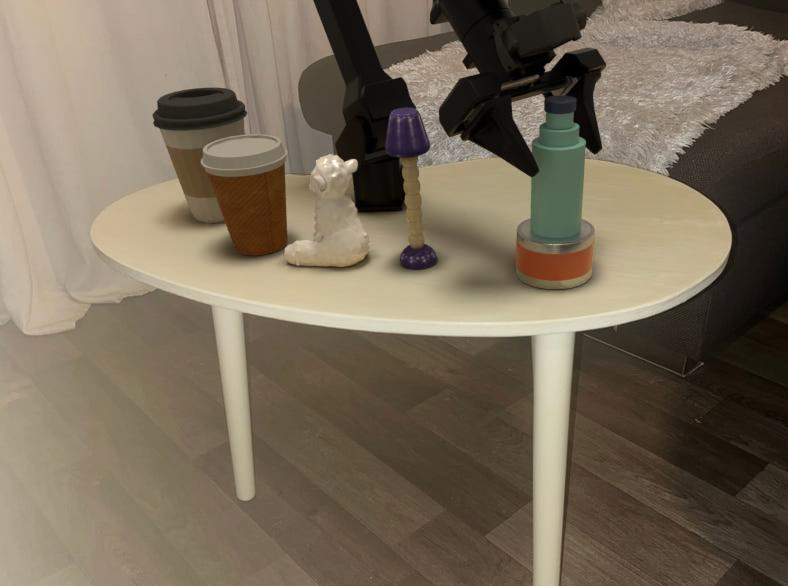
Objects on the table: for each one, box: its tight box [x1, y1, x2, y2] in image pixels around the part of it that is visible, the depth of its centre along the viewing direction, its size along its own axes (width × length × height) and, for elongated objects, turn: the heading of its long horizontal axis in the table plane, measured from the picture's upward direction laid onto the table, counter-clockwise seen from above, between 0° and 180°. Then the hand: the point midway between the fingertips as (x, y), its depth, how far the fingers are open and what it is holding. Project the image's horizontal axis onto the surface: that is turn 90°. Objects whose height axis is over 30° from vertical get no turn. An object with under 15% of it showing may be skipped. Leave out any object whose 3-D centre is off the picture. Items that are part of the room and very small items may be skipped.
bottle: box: [530, 96, 587, 238], centre depth 75 cm, size 5×5×13 cm
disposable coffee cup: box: [201, 133, 288, 256], centre depth 87 cm, size 10×10×12 cm
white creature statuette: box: [284, 153, 371, 268], centre depth 83 cm, size 10×9×12 cm
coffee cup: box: [152, 87, 249, 224], centre depth 96 cm, size 11×11×15 cm
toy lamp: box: [385, 108, 438, 270], centre depth 80 cm, size 5×5×17 cm
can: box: [515, 217, 596, 290], centre depth 80 cm, size 8×8×5 cm
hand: (568, 162), depth 74 cm, fingers open, 9 cm apart
